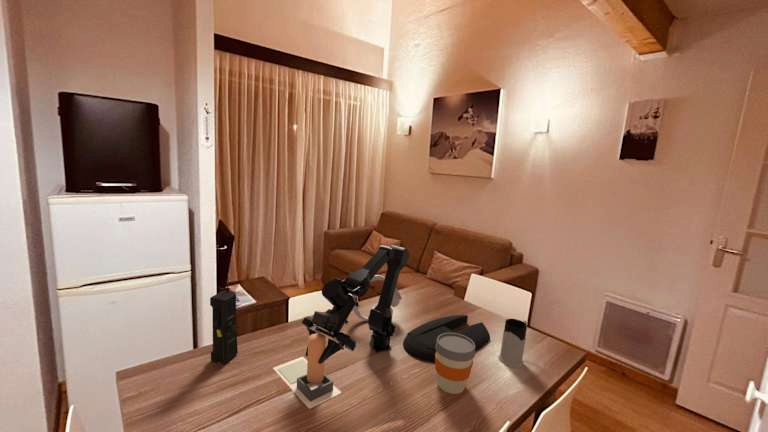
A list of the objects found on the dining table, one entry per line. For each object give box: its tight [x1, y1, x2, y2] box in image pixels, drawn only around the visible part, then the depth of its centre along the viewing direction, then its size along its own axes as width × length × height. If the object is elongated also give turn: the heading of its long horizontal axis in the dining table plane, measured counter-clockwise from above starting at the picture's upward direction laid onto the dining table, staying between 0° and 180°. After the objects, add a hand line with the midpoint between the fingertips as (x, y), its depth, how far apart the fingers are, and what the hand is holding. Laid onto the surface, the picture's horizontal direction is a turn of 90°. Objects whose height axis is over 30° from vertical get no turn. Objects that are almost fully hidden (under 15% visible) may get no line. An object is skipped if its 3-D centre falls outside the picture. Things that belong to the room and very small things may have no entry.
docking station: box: [402, 314, 491, 363], centre depth 139 cm, size 25×40×5 cm, turn 131°
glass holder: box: [498, 318, 528, 368], centre depth 129 cm, size 9×14×15 cm, turn 135°
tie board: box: [272, 356, 342, 410], centre depth 106 cm, size 23×11×4 cm, turn 43°
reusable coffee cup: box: [434, 333, 476, 395], centre depth 110 cm, size 13×13×15 cm
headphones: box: [351, 274, 403, 322], centre depth 149 cm, size 21×9×22 cm
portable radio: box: [209, 284, 239, 365], centre depth 114 cm, size 8×6×25 cm
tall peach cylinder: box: [307, 333, 327, 383], centre depth 101 cm, size 5×5×13 cm
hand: (312, 359), depth 100 cm, fingers closed on tall peach cylinder, 5 cm apart
